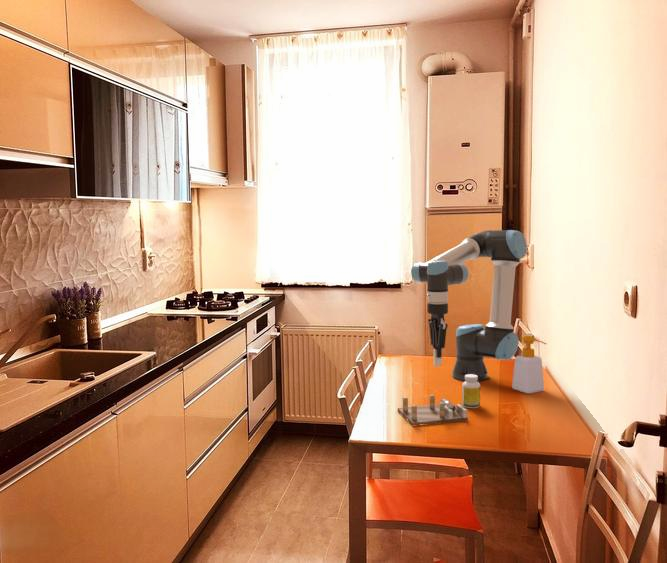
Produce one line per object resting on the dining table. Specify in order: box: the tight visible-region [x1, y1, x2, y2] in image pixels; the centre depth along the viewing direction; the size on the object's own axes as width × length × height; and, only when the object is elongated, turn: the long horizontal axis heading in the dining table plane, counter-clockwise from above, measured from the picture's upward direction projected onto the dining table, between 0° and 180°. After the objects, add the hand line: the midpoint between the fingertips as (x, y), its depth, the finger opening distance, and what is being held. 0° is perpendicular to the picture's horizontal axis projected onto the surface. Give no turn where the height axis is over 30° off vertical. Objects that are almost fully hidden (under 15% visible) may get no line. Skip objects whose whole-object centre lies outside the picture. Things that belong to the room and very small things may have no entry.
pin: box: [439, 398, 456, 412], centre depth 205 cm, size 7×3×3 cm, turn 12°
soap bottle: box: [511, 335, 547, 395], centre depth 228 cm, size 10×14×22 cm
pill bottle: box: [461, 374, 481, 409], centre depth 212 cm, size 6×6×12 cm
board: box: [397, 394, 469, 426], centre depth 203 cm, size 16×20×6 cm
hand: (437, 365), depth 213 cm, fingers closed
